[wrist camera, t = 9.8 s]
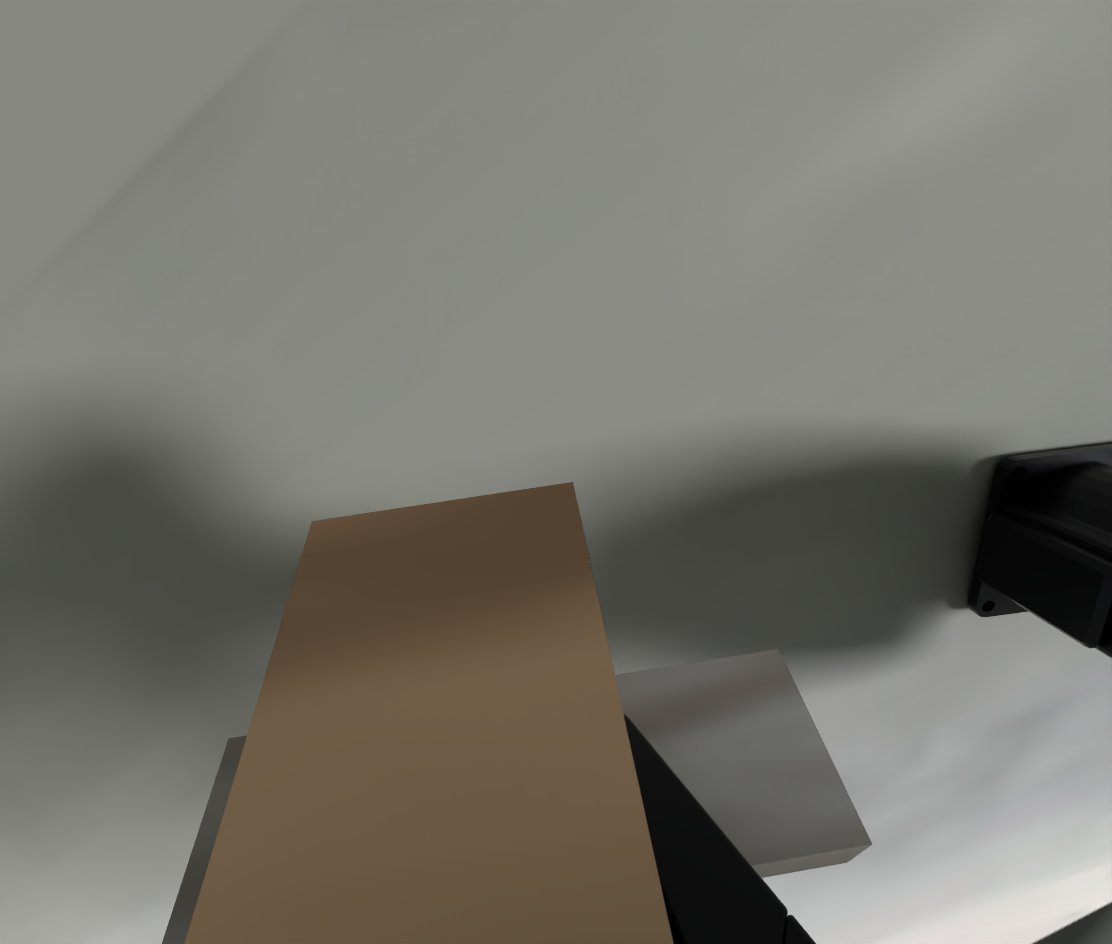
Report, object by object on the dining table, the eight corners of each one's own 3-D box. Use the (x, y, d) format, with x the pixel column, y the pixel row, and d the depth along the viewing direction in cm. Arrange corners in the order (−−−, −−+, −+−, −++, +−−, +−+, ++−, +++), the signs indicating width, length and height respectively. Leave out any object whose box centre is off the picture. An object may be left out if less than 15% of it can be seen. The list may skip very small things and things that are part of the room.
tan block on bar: (-5, 569, 6) (-501, 1163, 3) (866, 438, 6) (1238, 845, 3) (260, 762, 10) (173, 1080, 7) (765, 678, 10) (885, 949, 7)
